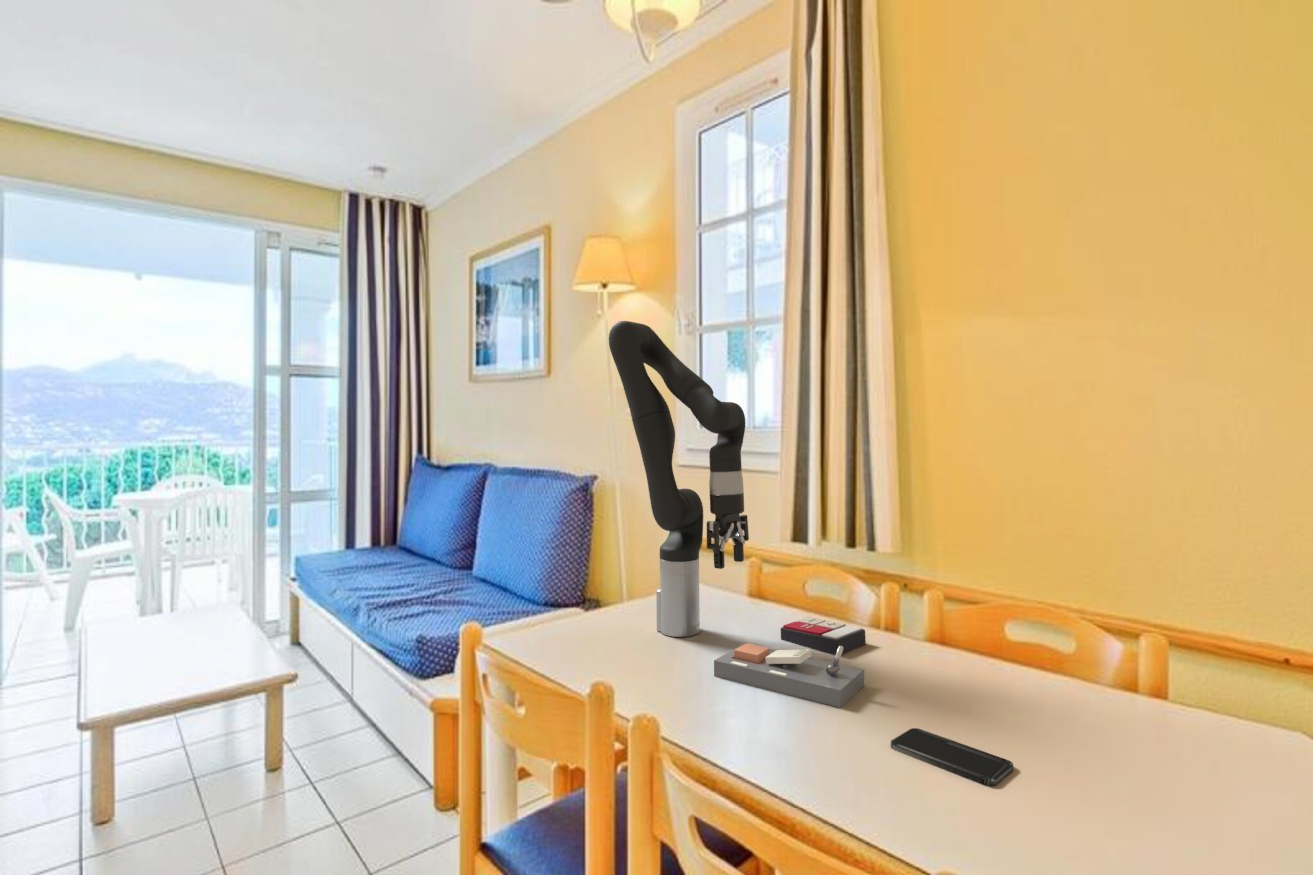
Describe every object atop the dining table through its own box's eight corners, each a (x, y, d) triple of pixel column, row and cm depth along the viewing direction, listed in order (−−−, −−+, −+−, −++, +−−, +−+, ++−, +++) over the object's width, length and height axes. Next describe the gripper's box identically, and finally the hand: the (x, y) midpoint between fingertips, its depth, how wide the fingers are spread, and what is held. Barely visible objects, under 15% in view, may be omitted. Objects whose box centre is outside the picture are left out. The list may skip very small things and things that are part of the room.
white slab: (766, 663, 124) (765, 656, 124) (778, 656, 128) (777, 649, 128) (800, 663, 120) (798, 656, 120) (811, 655, 124) (810, 648, 124)
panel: (714, 675, 127) (713, 657, 127) (744, 657, 137) (744, 640, 137) (840, 707, 112) (840, 686, 112) (864, 685, 122) (864, 665, 122)
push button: (734, 664, 128) (734, 650, 128) (747, 657, 132) (746, 643, 132) (757, 669, 125) (757, 655, 125) (769, 662, 129) (769, 647, 129)
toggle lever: (824, 672, 119) (835, 645, 118) (830, 668, 121) (840, 642, 119) (833, 677, 118) (843, 650, 117) (838, 673, 120) (848, 646, 119)
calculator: (808, 615, 156) (865, 625, 145) (809, 633, 156) (866, 645, 145) (779, 624, 149) (837, 636, 137) (780, 643, 149) (838, 657, 137)
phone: (992, 782, 87) (887, 742, 98) (992, 791, 87) (887, 749, 98) (1016, 762, 92) (914, 726, 103) (1016, 770, 92) (914, 733, 103)
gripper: (728, 488, 155) (730, 558, 155) (694, 494, 143) (697, 569, 143) (756, 489, 150) (759, 560, 150) (724, 494, 139) (727, 572, 139)
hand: (729, 564), depth 147 cm, fingers open, 8 cm apart
